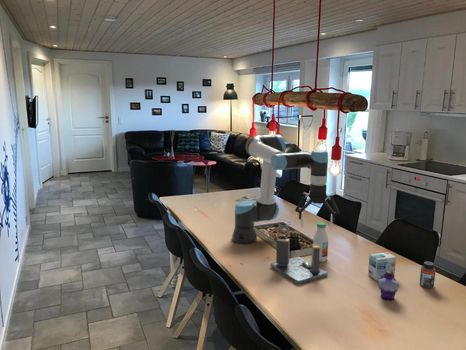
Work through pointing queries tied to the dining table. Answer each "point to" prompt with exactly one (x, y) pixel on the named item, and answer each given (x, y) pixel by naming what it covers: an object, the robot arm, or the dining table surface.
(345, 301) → the dining table surface
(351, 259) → the dining table surface
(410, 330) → the dining table surface
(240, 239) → the robot arm
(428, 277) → the supplement bottle
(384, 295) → the potion bottle
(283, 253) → the yellow-tipped grey bar
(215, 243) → the dining table surface
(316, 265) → the knob
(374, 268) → the light bulb box
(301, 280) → the levelling plate
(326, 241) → the milk bottle
